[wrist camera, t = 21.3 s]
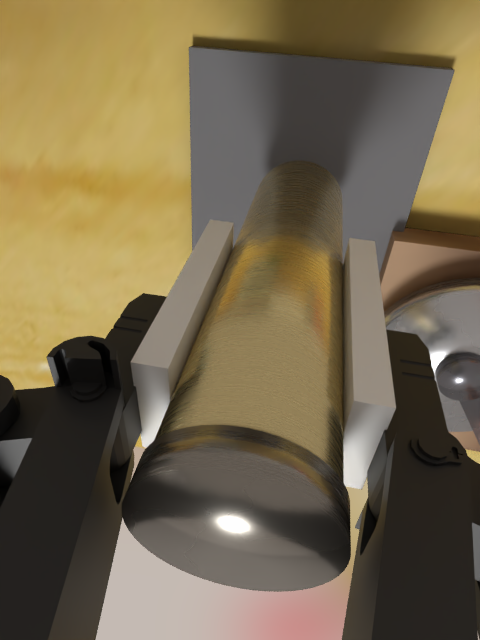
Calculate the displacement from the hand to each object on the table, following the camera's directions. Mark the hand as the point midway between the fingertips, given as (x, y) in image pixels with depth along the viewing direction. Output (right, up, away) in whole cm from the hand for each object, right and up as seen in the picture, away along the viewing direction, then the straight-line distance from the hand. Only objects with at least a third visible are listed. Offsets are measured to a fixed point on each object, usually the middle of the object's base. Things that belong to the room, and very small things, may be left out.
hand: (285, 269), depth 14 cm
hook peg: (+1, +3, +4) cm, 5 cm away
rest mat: (+1, +5, +6) cm, 8 cm away
